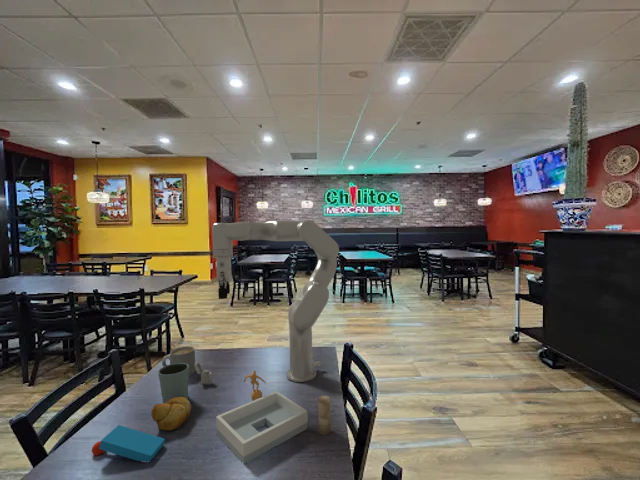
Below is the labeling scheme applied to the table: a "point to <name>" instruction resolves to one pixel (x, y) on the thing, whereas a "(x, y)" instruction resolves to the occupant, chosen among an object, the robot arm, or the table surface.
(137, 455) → the lever
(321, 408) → the peg
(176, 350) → the coffee mug
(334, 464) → the table surface
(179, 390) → the green cup
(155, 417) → the bread roll
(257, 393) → the figurine
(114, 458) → the table surface
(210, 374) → the lighter
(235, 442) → the tray
